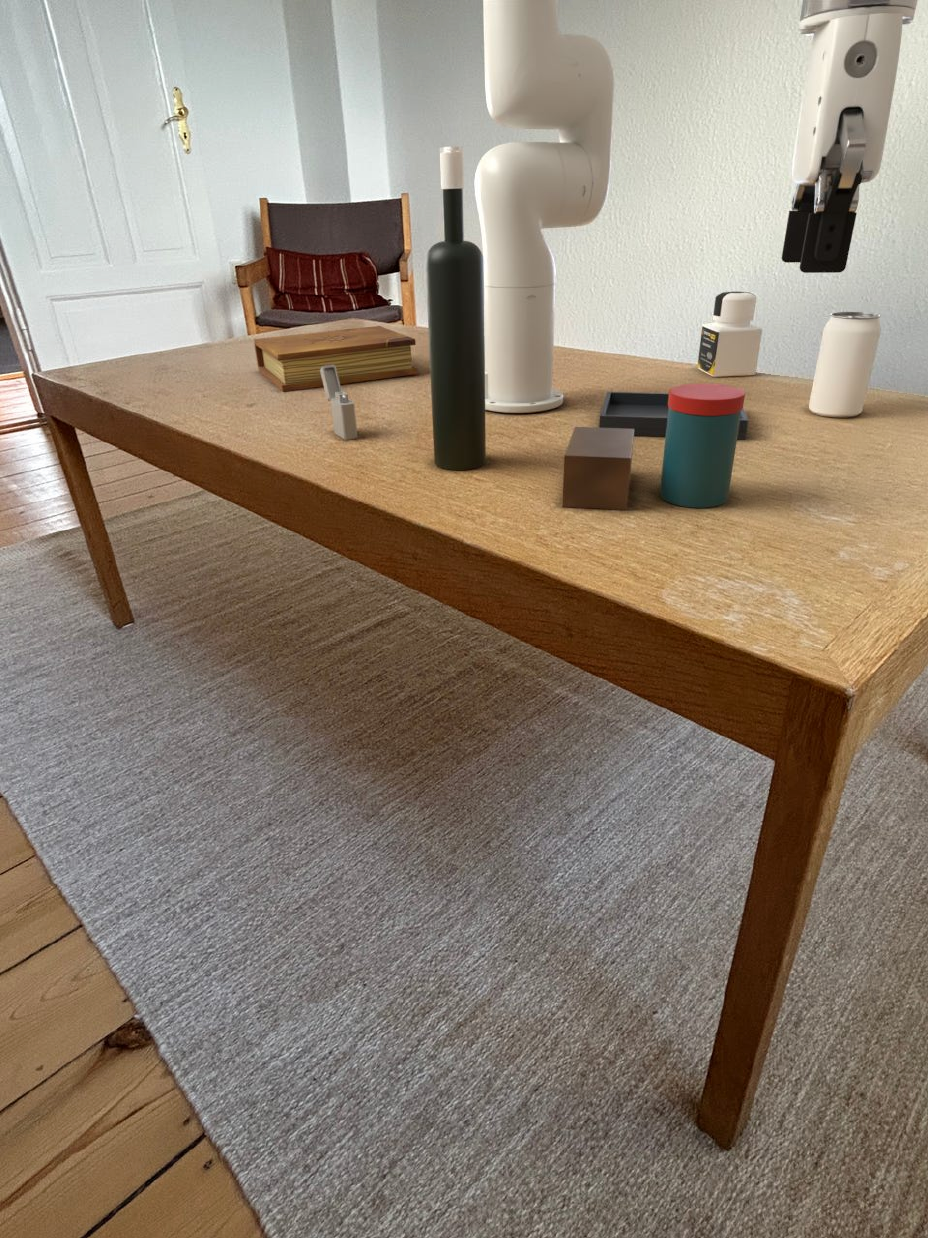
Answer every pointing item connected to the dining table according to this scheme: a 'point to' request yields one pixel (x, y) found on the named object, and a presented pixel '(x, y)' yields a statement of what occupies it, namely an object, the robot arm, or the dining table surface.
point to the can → (845, 364)
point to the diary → (334, 356)
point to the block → (598, 468)
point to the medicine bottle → (730, 337)
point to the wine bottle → (456, 330)
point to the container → (700, 444)
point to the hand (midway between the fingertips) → (810, 266)
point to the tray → (644, 413)
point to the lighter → (339, 404)
